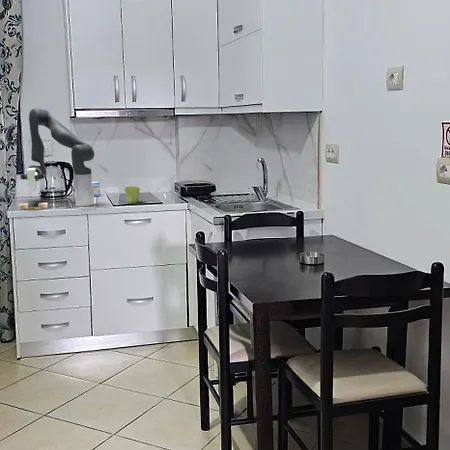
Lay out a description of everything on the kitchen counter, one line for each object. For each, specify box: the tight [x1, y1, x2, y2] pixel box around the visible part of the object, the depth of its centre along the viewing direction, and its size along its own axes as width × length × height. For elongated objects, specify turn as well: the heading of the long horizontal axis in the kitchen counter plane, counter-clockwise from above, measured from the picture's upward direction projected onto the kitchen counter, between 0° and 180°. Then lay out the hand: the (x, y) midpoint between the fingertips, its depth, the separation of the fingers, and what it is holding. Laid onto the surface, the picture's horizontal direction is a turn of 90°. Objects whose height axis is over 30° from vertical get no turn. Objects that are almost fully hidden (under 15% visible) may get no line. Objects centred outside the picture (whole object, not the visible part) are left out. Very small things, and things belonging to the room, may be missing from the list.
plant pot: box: [123, 185, 142, 204], centre depth 377 cm, size 9×9×9 cm
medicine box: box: [92, 181, 102, 198], centre depth 406 cm, size 8×4×9 cm, turn 143°
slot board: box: [18, 202, 49, 210], centre depth 360 cm, size 14×7×2 cm, turn 100°
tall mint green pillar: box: [26, 167, 38, 191], centre depth 358 cm, size 4×8×11 cm, turn 10°
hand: (31, 177), depth 355 cm, fingers closed on tall mint green pillar, 3 cm apart
